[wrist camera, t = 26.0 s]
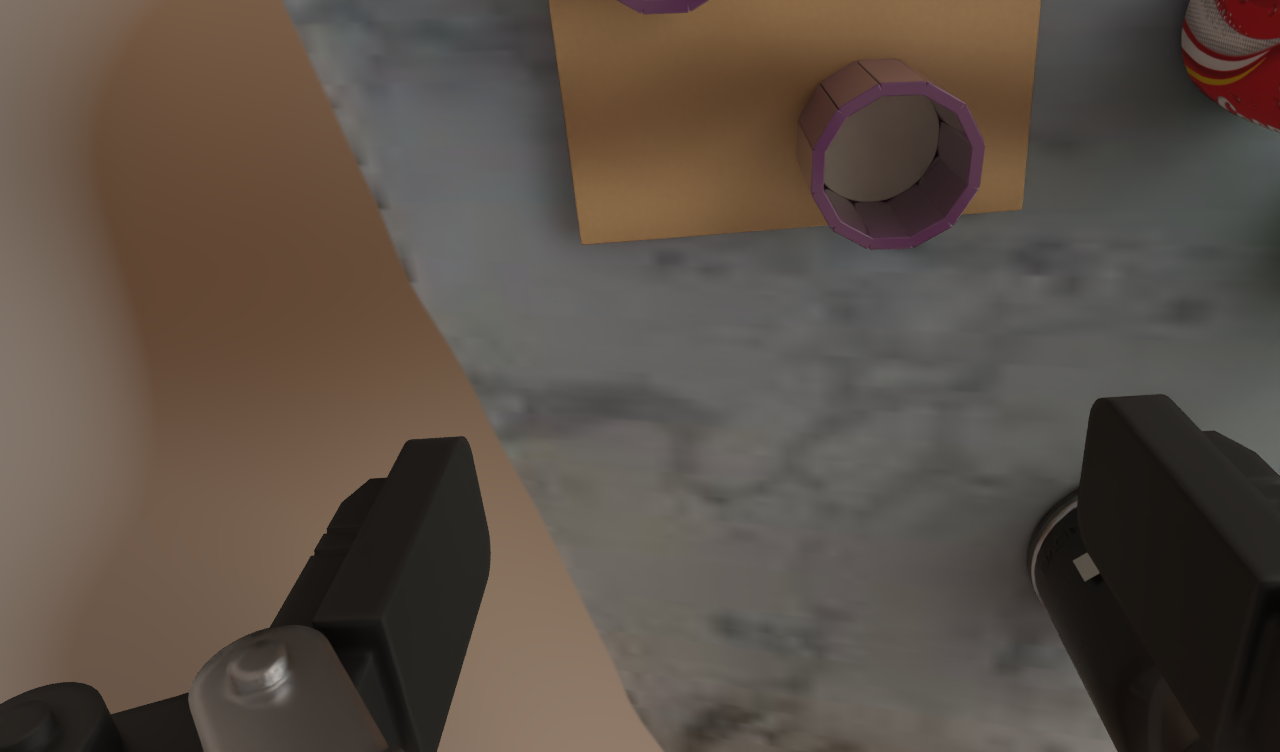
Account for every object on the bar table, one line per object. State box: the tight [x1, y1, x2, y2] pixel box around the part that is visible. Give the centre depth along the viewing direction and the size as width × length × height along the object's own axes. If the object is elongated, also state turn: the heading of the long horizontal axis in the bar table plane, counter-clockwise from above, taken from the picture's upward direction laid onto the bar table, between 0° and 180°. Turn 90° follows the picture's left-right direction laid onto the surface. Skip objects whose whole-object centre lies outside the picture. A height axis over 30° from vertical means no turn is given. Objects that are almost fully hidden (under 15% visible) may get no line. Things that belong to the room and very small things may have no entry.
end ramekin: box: [796, 58, 985, 250], centre depth 34 cm, size 6×6×5 cm
